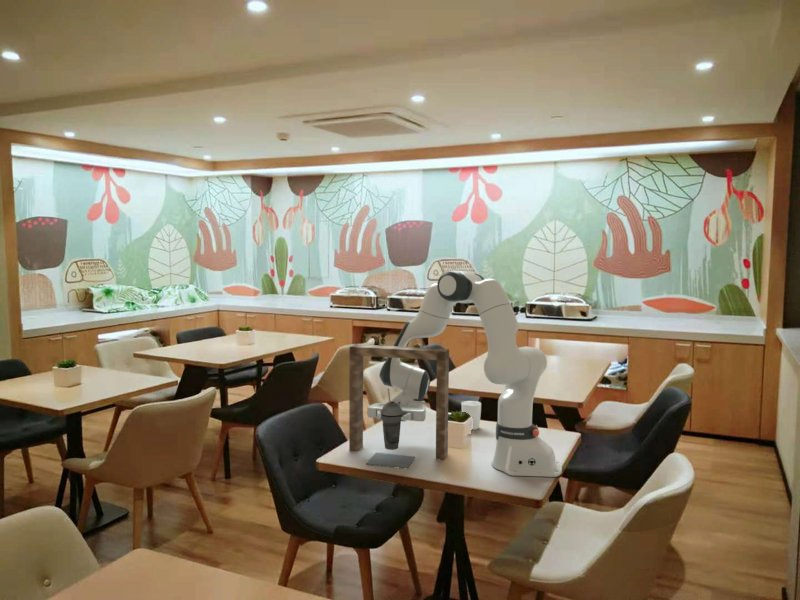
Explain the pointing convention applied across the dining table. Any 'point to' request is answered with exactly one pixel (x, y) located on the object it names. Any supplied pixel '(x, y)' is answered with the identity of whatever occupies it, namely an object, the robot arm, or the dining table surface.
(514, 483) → the dining table surface
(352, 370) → the walnut archway
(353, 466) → the dining table surface
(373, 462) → the slate mat
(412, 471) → the dining table surface
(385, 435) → the beverage cup
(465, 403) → the white cup
